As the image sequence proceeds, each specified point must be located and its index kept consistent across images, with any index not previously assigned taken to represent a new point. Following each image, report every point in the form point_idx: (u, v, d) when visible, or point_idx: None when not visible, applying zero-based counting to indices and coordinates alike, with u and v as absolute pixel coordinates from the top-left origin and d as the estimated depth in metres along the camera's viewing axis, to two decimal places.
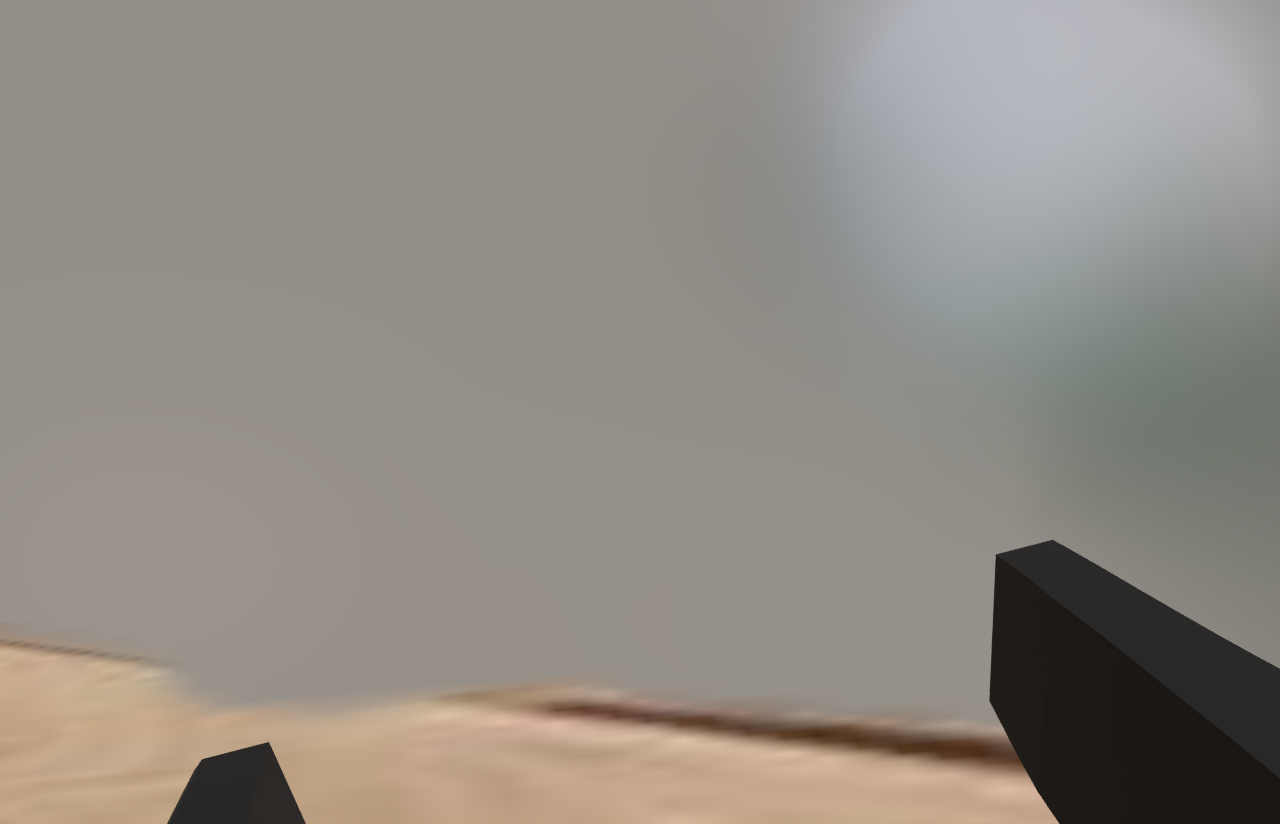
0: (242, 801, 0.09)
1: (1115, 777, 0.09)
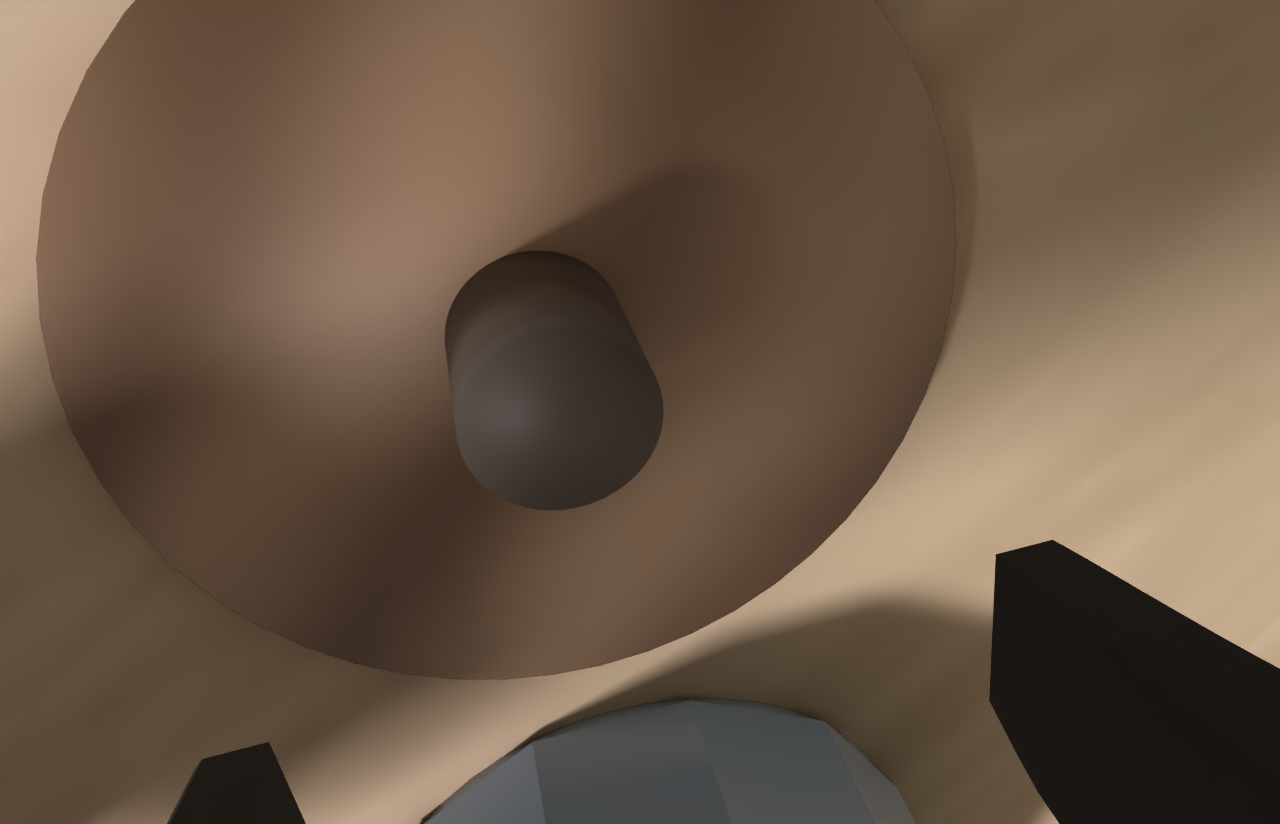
0: (242, 801, 0.09)
1: (1114, 777, 0.09)
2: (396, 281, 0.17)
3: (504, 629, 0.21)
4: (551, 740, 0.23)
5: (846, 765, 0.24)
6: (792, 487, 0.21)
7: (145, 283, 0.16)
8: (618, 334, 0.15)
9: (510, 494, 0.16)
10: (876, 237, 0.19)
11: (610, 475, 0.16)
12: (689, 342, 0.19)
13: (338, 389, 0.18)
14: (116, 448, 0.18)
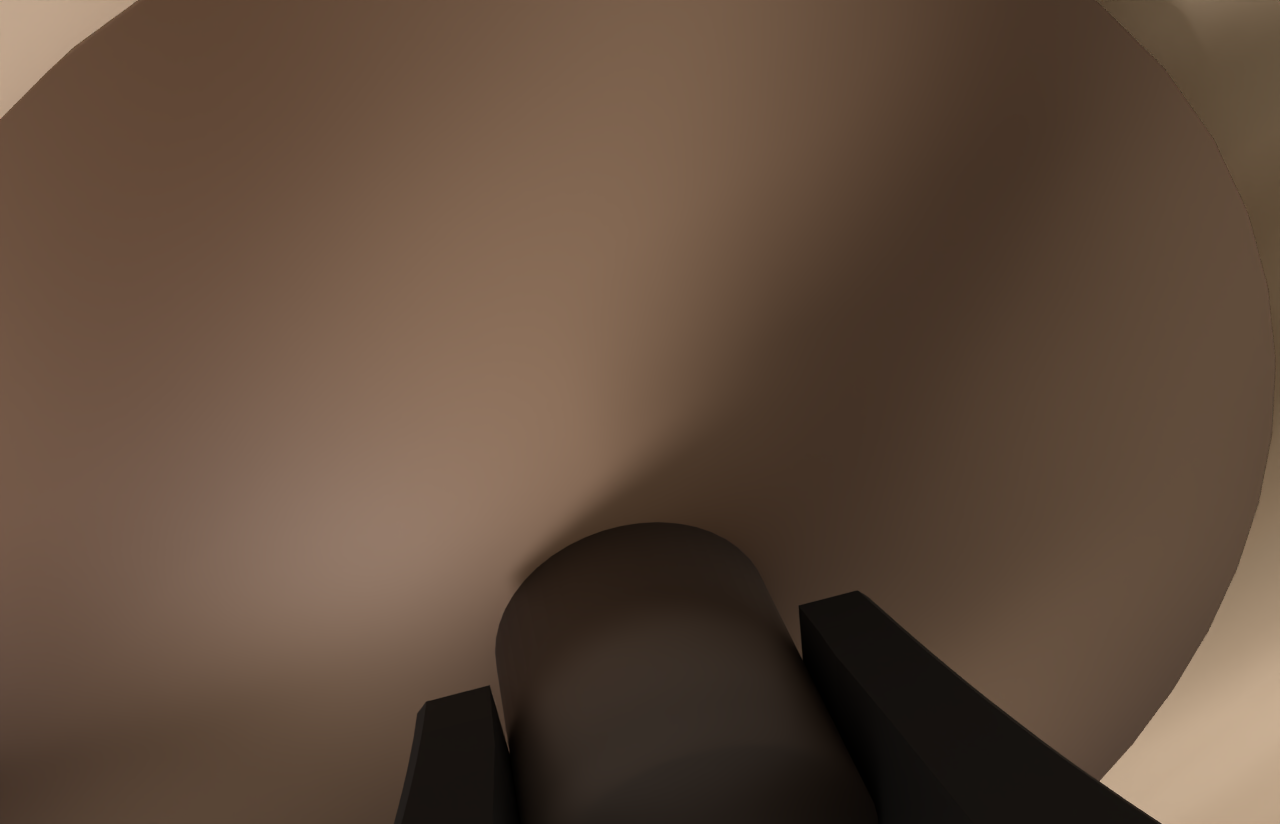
0: (484, 737, 0.09)
1: None
2: (425, 571, 0.11)
3: None
4: None
5: None
6: None
7: (5, 586, 0.10)
8: (818, 739, 0.09)
9: None
10: (1152, 492, 0.12)
11: None
12: None
13: (323, 720, 0.11)
14: None
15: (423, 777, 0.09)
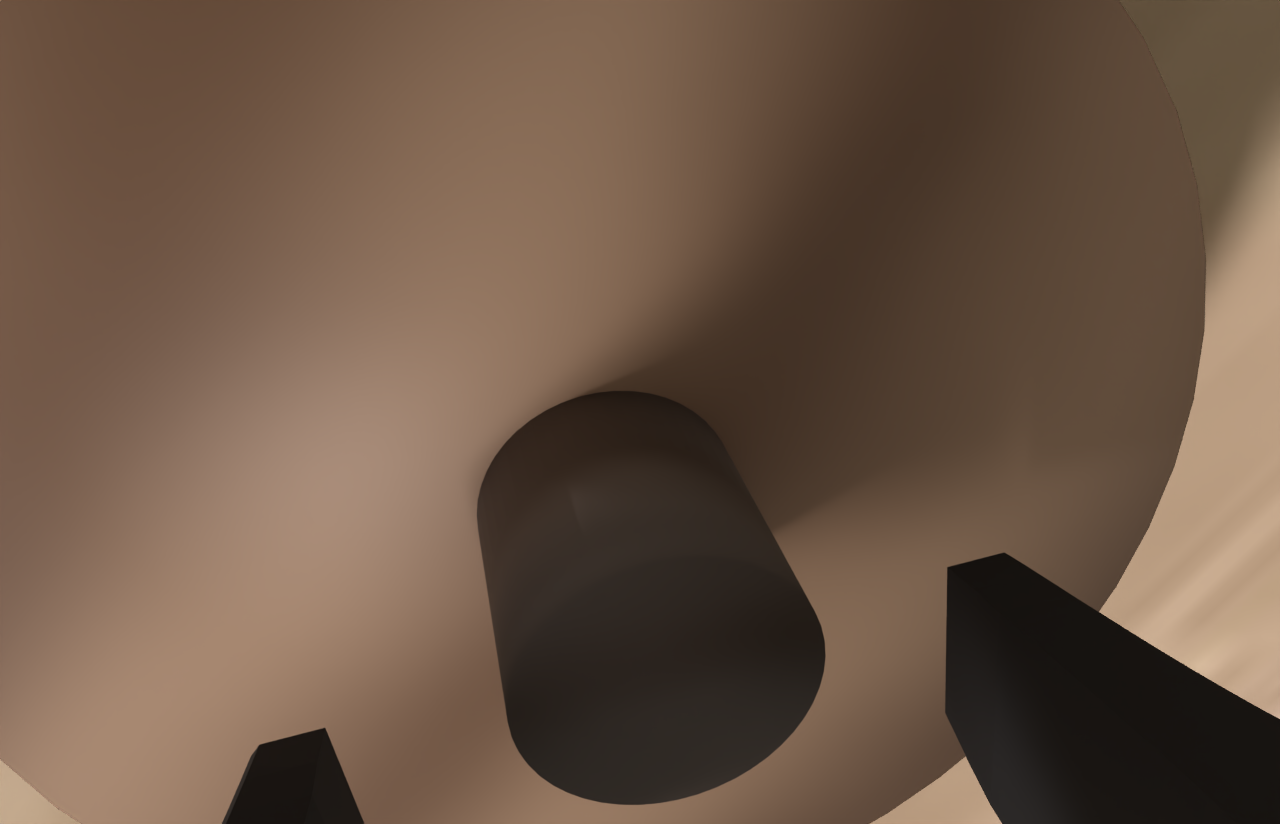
0: (304, 785, 0.09)
1: (1061, 792, 0.09)
2: (412, 429, 0.12)
3: None
4: None
5: None
6: (927, 699, 0.15)
7: (23, 424, 0.11)
8: (770, 560, 0.10)
9: (579, 785, 0.10)
10: (1092, 384, 0.13)
11: (732, 757, 0.11)
12: (820, 517, 0.13)
13: (315, 575, 0.12)
14: None
15: None
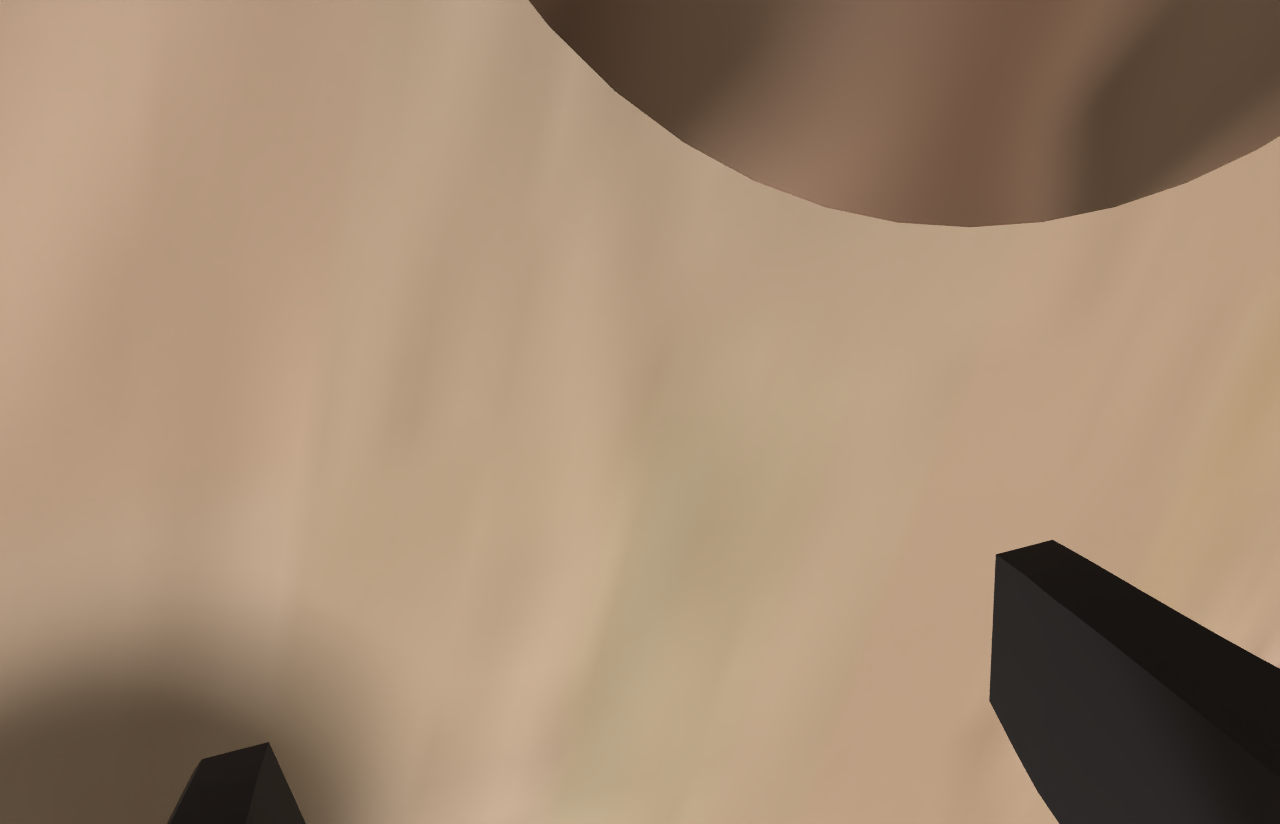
0: (242, 801, 0.09)
1: (1114, 778, 0.09)
2: None
3: (1176, 89, 0.13)
4: None
5: None
6: None
7: None
8: None
9: None
10: None
11: None
12: None
13: None
14: None
15: None
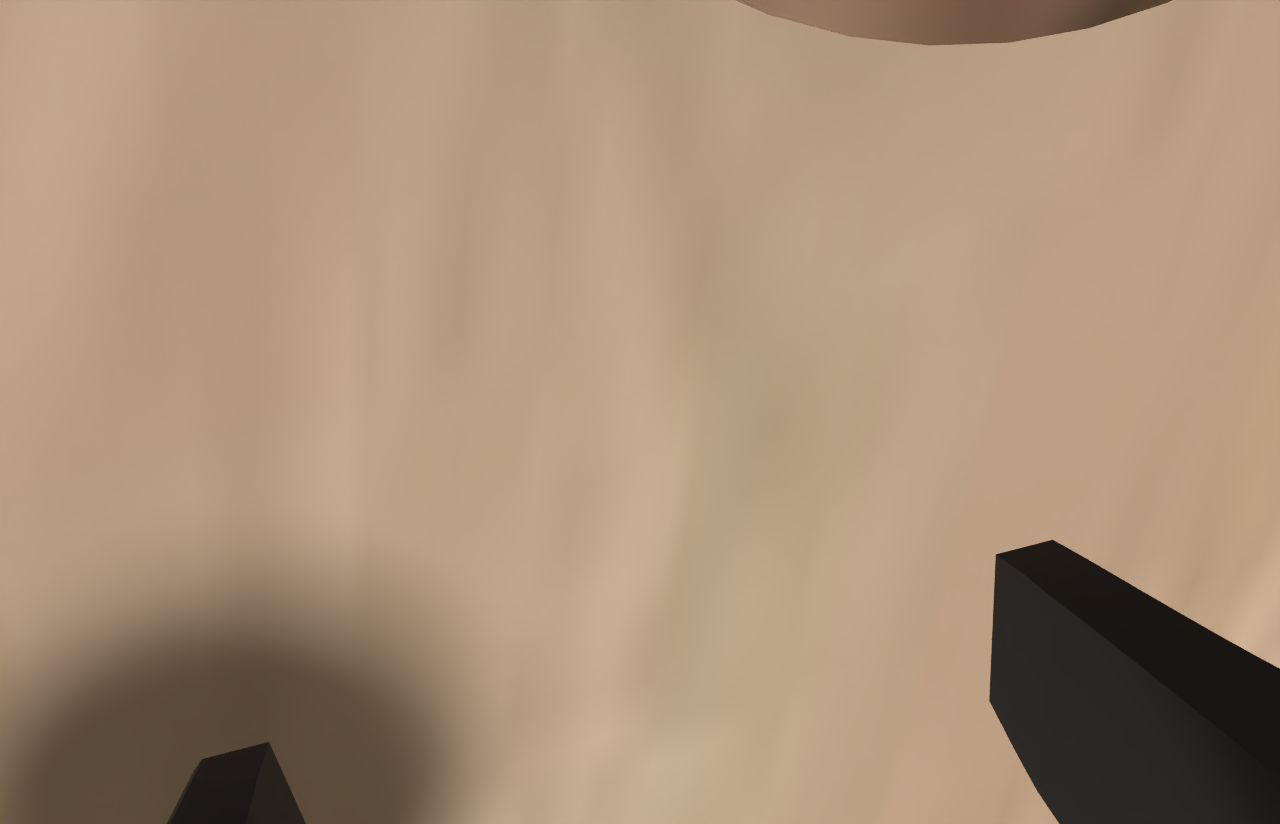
0: (242, 801, 0.09)
1: (1114, 777, 0.09)
2: None
3: None
4: None
5: None
6: None
7: None
8: None
9: None
10: None
11: None
12: None
13: None
14: None
15: None
